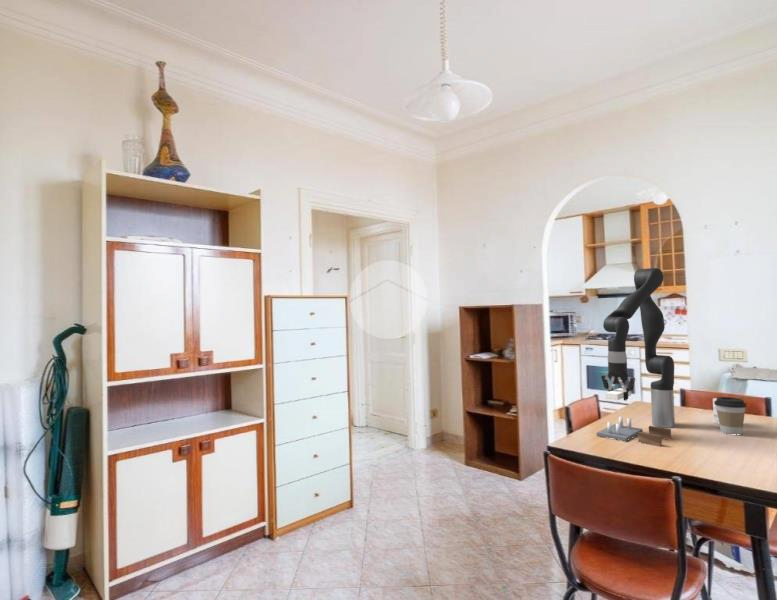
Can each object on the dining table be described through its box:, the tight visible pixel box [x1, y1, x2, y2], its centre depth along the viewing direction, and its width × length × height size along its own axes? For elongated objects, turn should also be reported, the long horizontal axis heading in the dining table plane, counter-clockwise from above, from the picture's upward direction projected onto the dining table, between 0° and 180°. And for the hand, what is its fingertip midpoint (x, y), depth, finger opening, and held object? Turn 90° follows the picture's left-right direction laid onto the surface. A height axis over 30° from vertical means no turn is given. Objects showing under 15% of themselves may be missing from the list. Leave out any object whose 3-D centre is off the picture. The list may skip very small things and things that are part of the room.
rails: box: [637, 425, 672, 447], centre depth 184 cm, size 15×8×4 cm, turn 132°
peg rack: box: [596, 416, 643, 442], centre depth 195 cm, size 20×12×6 cm, turn 132°
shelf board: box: [604, 387, 632, 401], centre depth 195 cm, size 16×5×2 cm, turn 132°
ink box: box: [712, 397, 720, 425], centre depth 206 cm, size 9×5×12 cm, turn 179°
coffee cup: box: [714, 396, 747, 436], centre depth 193 cm, size 11×11×15 cm
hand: (618, 399), depth 195 cm, fingers closed on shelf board, 5 cm apart
